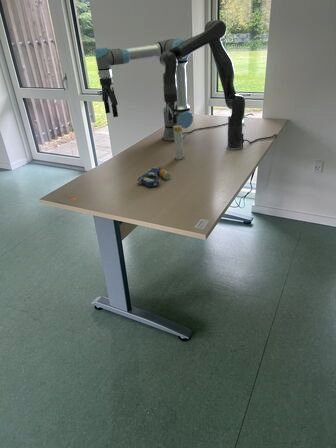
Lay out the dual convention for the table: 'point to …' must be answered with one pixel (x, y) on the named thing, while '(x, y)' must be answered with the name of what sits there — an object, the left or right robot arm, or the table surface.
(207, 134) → the table surface
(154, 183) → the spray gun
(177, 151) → the white cylinder
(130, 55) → the left robot arm
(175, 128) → the lid
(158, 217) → the table surface
